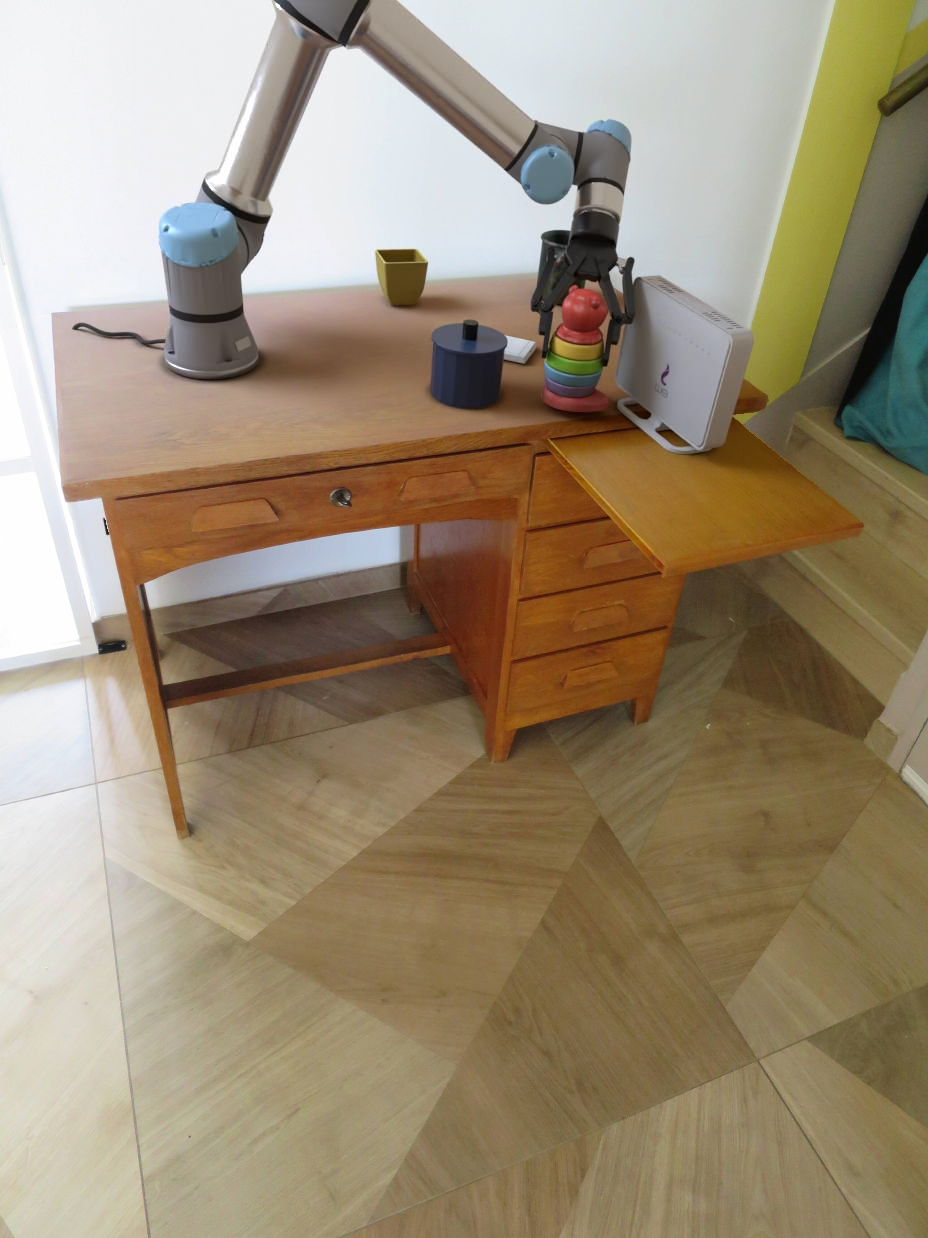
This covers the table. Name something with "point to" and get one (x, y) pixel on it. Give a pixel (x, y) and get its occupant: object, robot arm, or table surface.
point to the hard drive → (518, 349)
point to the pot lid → (469, 339)
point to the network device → (681, 365)
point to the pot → (466, 378)
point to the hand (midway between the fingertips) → (574, 358)
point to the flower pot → (401, 274)
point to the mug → (559, 242)
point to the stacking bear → (577, 355)
